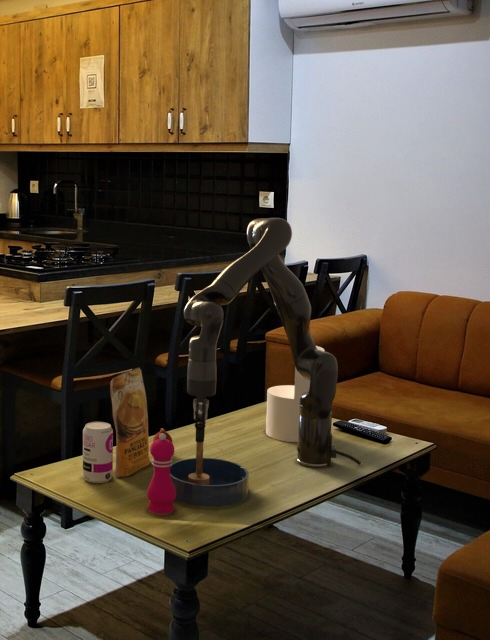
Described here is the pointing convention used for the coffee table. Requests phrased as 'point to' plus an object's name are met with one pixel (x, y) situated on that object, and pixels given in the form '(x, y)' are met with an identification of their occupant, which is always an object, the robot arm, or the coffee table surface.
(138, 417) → the pancake mix bag
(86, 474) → the supplement can
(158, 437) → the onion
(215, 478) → the bowl
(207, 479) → the wooden disc peg
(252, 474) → the coffee table surface
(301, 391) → the cylinder
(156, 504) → the pepper mill
